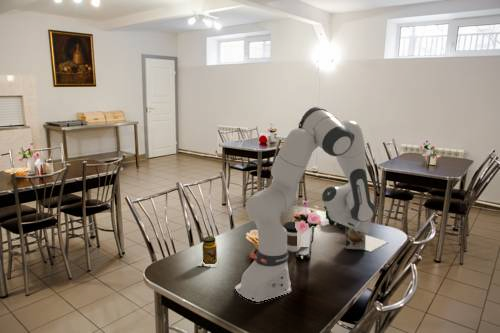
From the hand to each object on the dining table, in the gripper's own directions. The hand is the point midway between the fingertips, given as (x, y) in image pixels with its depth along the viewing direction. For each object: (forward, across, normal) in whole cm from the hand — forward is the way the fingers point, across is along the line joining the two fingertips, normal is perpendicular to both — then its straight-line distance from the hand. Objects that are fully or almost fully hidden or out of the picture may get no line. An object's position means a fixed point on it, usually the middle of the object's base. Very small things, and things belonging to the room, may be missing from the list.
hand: (354, 229), depth 169 cm
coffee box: (+9, 0, -6) cm, 11 cm away
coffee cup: (-4, -20, -22) cm, 30 cm away
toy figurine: (+24, -23, +6) cm, 34 cm away
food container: (+5, -23, -12) cm, 26 cm away
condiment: (-32, -33, -51) cm, 69 cm away
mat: (+18, -2, +2) cm, 18 cm away
